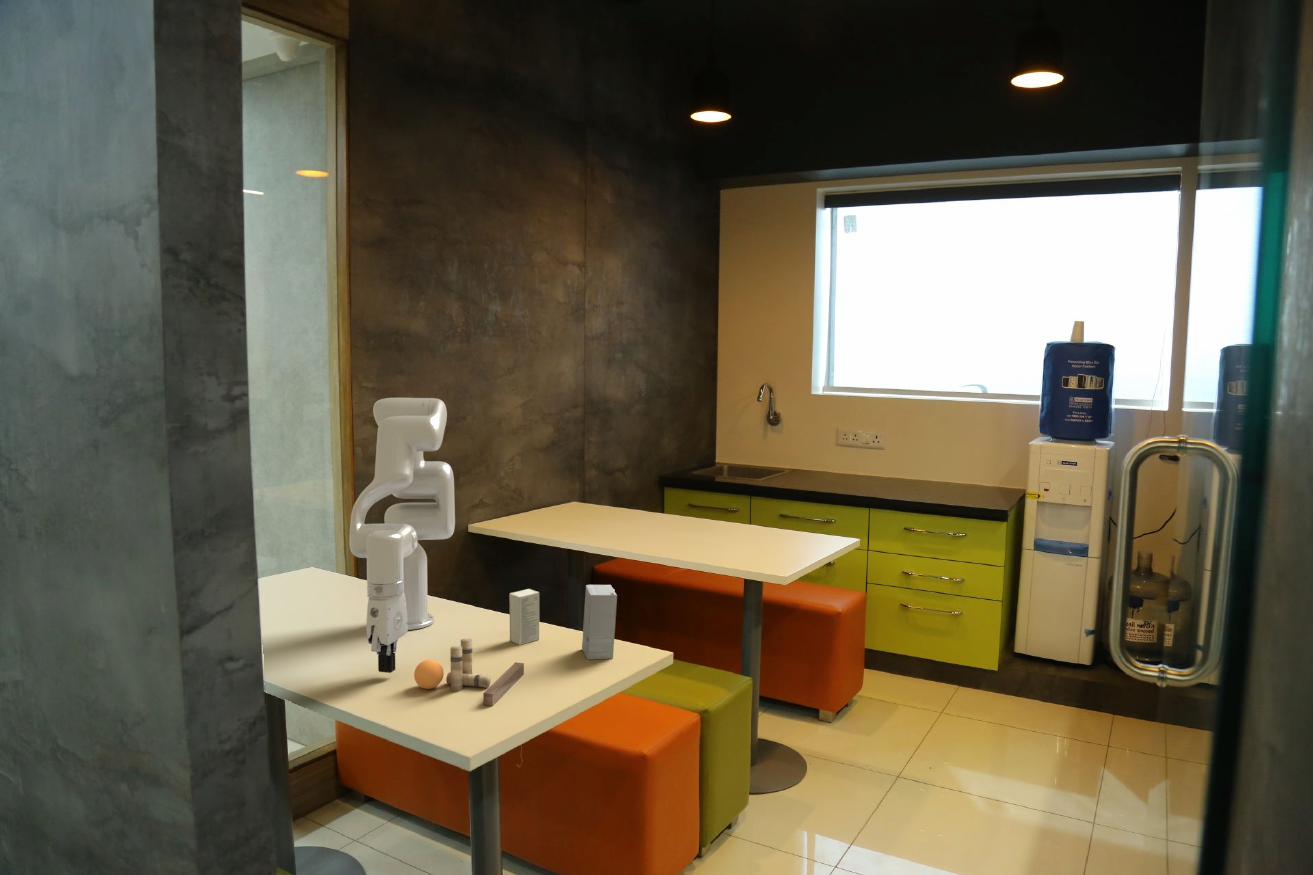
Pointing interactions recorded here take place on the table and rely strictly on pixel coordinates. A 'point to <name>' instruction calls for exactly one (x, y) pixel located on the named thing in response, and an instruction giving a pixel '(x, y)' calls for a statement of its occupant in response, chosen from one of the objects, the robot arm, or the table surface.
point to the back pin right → (456, 668)
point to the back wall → (503, 684)
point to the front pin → (472, 680)
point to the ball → (428, 674)
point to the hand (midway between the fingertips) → (386, 670)
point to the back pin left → (466, 655)
